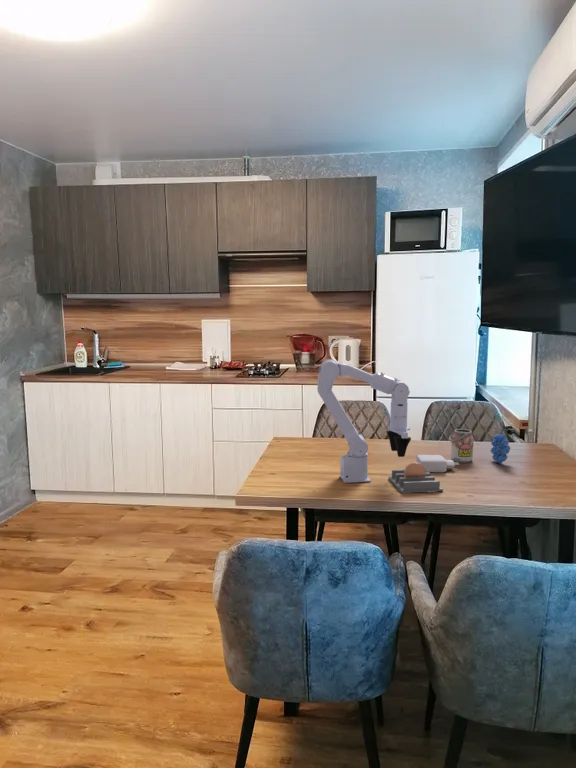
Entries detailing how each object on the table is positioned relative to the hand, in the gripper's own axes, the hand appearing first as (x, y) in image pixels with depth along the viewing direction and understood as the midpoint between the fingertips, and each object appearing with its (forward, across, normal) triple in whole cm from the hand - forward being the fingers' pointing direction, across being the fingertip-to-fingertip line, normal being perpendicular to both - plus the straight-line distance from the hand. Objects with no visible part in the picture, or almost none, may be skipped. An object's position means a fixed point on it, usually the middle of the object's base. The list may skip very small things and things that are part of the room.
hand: (397, 453), depth 193 cm
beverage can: (+10, +20, -32) cm, 39 cm away
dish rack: (+9, -7, -4) cm, 12 cm away
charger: (+10, +10, -19) cm, 24 cm away
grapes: (+10, +14, -46) cm, 49 cm away
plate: (+8, -7, -4) cm, 12 cm away
